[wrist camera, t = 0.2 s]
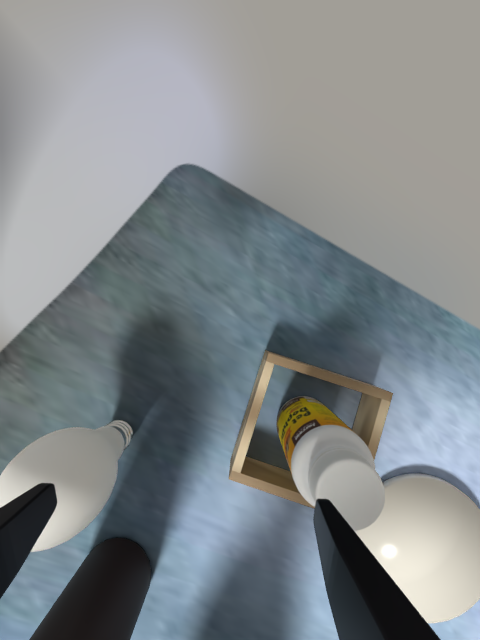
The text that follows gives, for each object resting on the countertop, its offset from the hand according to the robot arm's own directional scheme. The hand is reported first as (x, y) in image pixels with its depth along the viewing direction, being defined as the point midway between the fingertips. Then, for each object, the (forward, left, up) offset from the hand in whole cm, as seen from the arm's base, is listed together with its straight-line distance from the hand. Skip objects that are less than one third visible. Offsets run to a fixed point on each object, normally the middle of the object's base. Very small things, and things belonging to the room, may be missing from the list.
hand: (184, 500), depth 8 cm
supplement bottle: (+3, -8, -16) cm, 18 cm away
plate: (+2, -24, -15) cm, 29 cm away
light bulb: (-10, +5, -16) cm, 19 cm away
